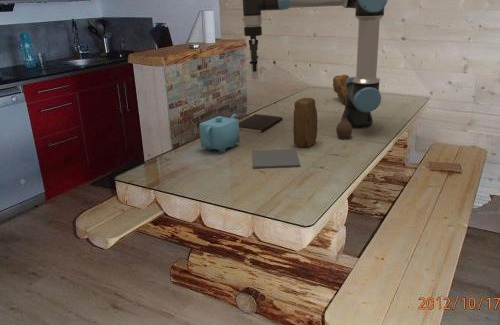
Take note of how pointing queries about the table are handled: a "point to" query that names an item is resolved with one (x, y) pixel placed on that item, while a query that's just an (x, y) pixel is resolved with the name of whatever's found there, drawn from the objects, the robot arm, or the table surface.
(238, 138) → the teapot
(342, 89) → the rough brown rock
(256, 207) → the table surface
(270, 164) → the mat
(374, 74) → the robot arm
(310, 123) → the block
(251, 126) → the hardcover book
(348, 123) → the vase
